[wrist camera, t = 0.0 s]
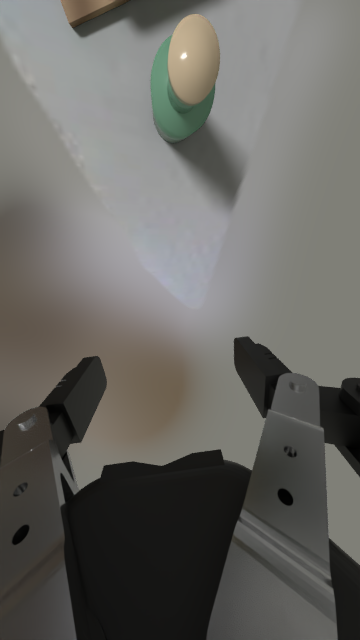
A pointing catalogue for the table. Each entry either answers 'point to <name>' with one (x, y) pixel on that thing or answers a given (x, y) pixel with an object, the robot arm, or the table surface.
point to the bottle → (185, 78)
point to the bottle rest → (87, 9)
